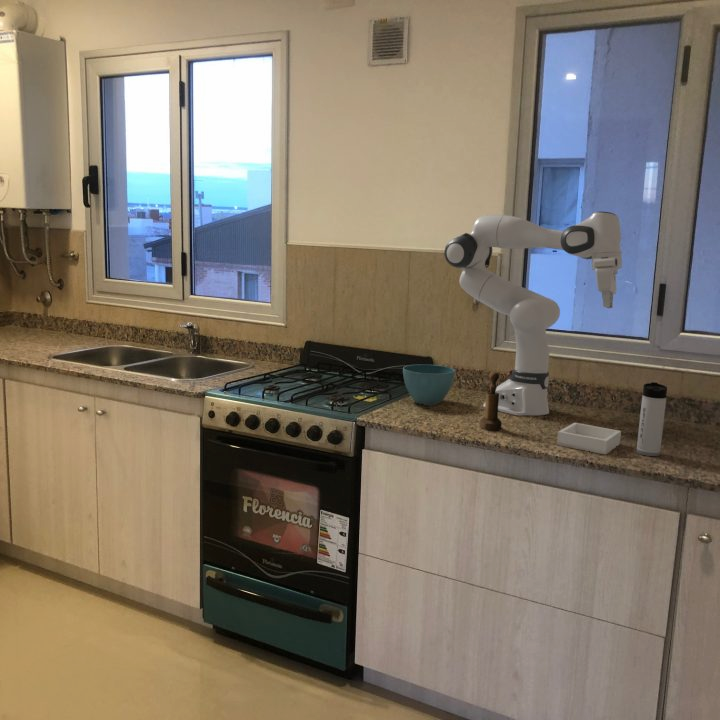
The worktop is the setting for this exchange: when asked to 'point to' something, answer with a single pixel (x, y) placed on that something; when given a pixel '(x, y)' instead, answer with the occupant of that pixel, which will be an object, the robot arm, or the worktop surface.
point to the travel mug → (651, 419)
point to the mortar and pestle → (491, 406)
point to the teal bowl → (428, 382)
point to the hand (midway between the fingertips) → (608, 307)
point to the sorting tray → (589, 438)
